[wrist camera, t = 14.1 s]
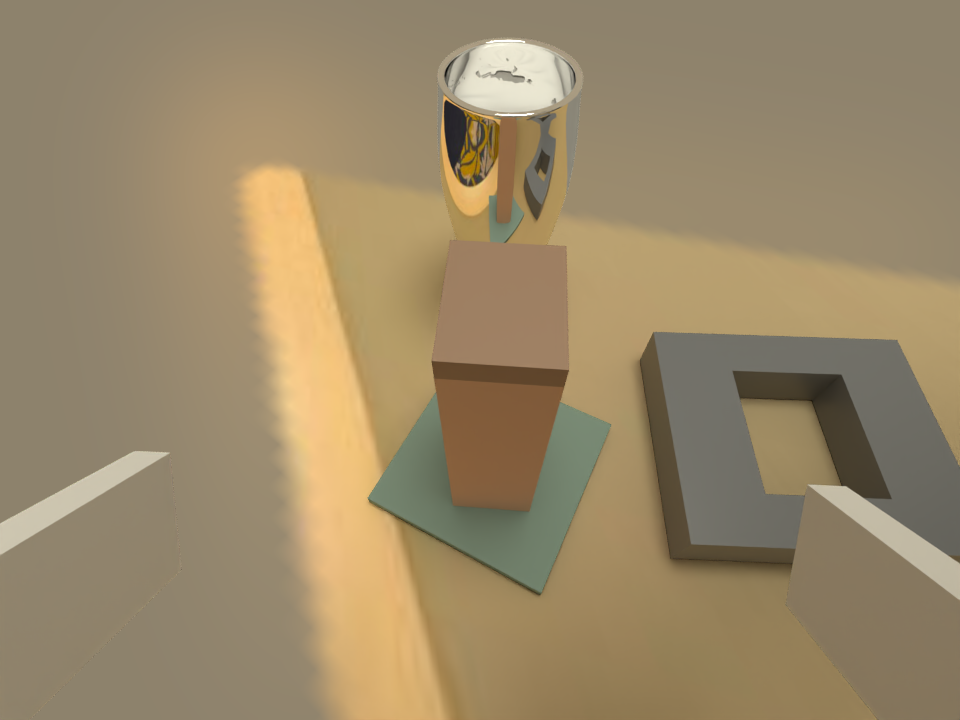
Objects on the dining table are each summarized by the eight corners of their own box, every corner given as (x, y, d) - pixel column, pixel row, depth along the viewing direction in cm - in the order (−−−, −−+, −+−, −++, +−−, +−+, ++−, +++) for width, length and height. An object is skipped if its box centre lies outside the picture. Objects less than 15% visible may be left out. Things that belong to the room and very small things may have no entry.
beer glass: (503, 241, 38) (514, 20, 25) (570, 296, 35) (621, 77, 22) (429, 288, 36) (401, 68, 23) (494, 351, 33) (504, 139, 20)
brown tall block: (531, 424, 29) (566, 246, 17) (529, 511, 26) (568, 370, 15) (462, 419, 29) (450, 239, 18) (453, 505, 27) (431, 361, 15)
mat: (609, 429, 30) (611, 424, 29) (540, 595, 25) (541, 593, 24) (458, 362, 32) (458, 357, 32) (369, 501, 27) (367, 498, 27)
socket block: (864, 367, 32) (896, 339, 29) (952, 570, 25) (1004, 557, 23) (639, 359, 32) (653, 331, 30) (670, 558, 26) (691, 544, 23)
